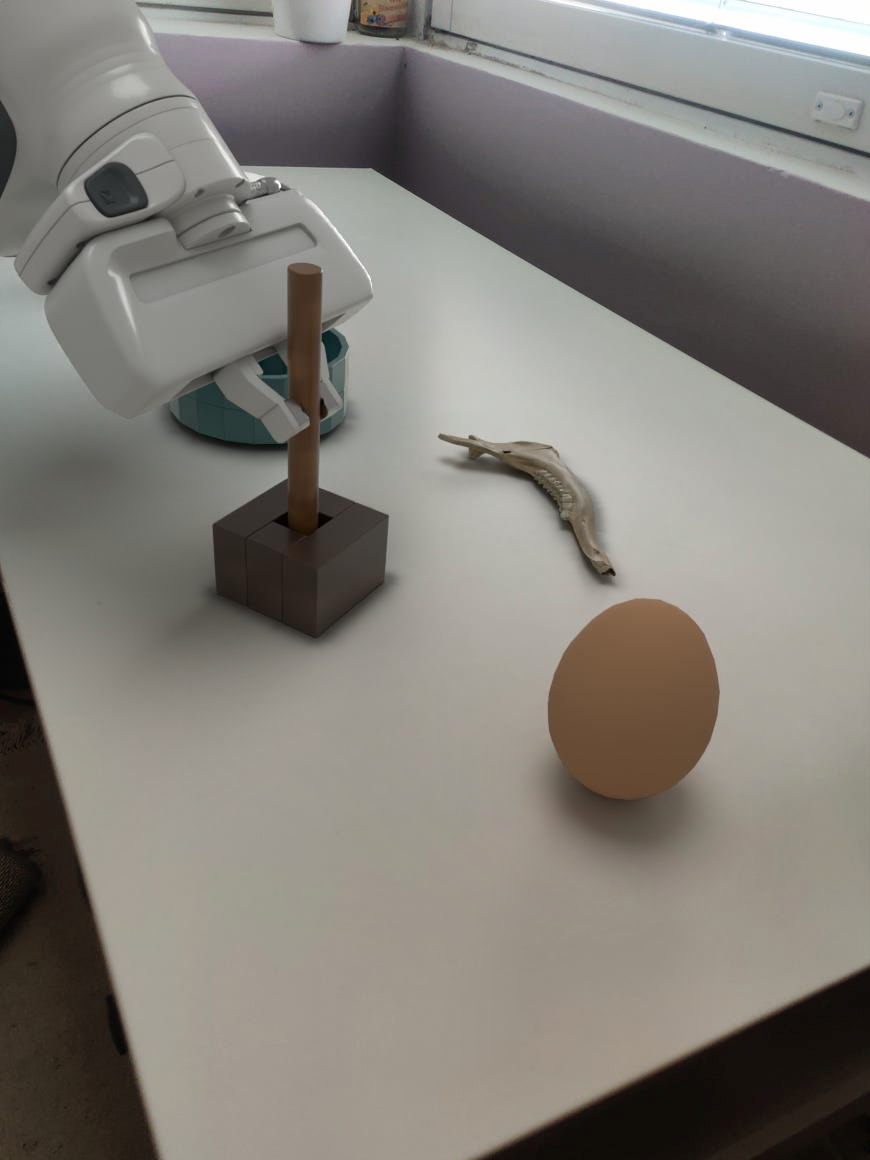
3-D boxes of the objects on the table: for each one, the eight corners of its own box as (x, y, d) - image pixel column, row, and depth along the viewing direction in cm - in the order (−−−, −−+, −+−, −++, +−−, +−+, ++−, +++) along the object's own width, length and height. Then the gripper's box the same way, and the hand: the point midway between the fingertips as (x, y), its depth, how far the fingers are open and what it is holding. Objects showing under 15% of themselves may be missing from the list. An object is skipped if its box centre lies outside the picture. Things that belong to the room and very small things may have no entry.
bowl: (147, 438, 75) (139, 363, 71) (197, 366, 86) (192, 298, 82) (331, 461, 75) (333, 388, 71) (356, 387, 86) (359, 320, 83)
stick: (285, 592, 61) (284, 270, 49) (291, 576, 62) (290, 260, 50) (314, 596, 61) (319, 275, 49) (318, 580, 63) (325, 264, 50)
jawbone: (517, 440, 83) (523, 418, 82) (690, 563, 71) (700, 539, 70) (432, 453, 78) (437, 429, 76) (604, 588, 66) (613, 562, 65)
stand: (215, 592, 60) (211, 523, 57) (290, 540, 66) (290, 475, 63) (315, 638, 58) (317, 569, 55) (385, 580, 63) (389, 514, 60)
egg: (537, 714, 55) (572, 547, 48) (682, 737, 55) (738, 573, 48) (528, 825, 48) (567, 649, 41) (693, 851, 48) (759, 680, 41)
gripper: (256, 203, 61) (378, 393, 64) (-16, 275, 46) (158, 518, 49) (315, 140, 57) (442, 347, 60) (36, 198, 42) (223, 468, 45)
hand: (312, 425), depth 55 cm, fingers closed on stick, 2 cm apart
